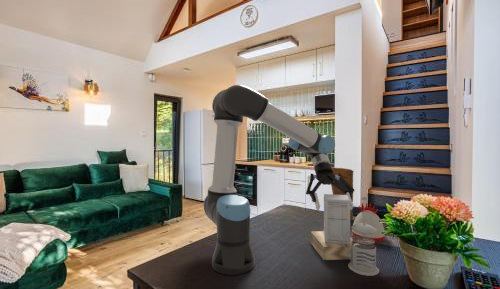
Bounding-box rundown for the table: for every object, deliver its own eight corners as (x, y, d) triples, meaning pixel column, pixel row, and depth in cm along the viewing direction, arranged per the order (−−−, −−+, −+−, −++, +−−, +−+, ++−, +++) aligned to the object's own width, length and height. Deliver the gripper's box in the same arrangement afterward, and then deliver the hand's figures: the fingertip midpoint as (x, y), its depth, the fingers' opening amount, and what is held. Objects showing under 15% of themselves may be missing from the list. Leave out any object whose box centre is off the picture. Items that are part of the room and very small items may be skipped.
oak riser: (323, 260, 92) (323, 246, 92) (310, 243, 107) (310, 231, 107) (360, 258, 93) (360, 245, 93) (342, 242, 108) (342, 230, 108)
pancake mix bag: (347, 222, 134) (348, 169, 133) (326, 212, 152) (327, 166, 151) (358, 221, 136) (358, 169, 135) (336, 211, 154) (336, 165, 153)
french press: (383, 277, 81) (384, 200, 81) (345, 273, 83) (346, 198, 83) (374, 262, 91) (375, 193, 90) (340, 259, 93) (341, 192, 92)
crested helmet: (353, 228, 125) (353, 198, 125) (384, 233, 119) (385, 201, 118) (350, 238, 113) (350, 205, 113) (385, 244, 107) (385, 209, 106)
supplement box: (347, 235, 103) (348, 194, 102) (351, 245, 94) (351, 200, 93) (323, 233, 105) (323, 193, 104) (324, 242, 96) (324, 198, 95)
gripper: (346, 171, 118) (362, 212, 104) (293, 171, 117) (302, 213, 102) (351, 161, 113) (369, 203, 98) (296, 161, 111) (306, 204, 97)
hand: (335, 208), depth 100 cm, fingers open, 13 cm apart
